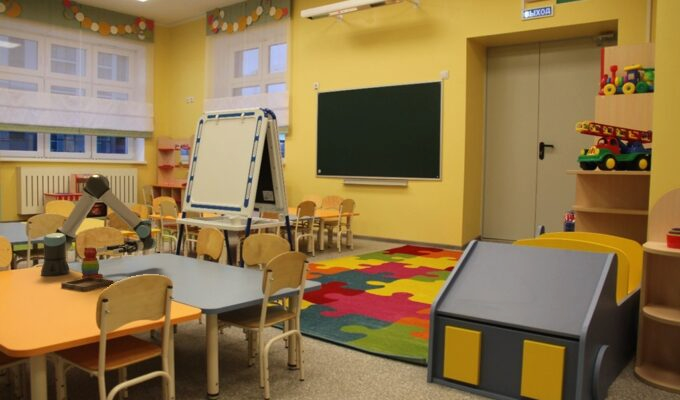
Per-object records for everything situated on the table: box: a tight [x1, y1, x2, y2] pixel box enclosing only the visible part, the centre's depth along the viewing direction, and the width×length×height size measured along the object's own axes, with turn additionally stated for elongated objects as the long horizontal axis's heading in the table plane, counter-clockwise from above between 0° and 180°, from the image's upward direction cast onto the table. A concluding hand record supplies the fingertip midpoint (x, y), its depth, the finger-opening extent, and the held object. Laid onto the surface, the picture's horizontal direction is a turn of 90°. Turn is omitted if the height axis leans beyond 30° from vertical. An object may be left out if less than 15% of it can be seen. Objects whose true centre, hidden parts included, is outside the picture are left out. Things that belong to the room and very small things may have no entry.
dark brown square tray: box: [60, 277, 114, 292], centre depth 296 cm, size 18×18×2 cm
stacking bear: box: [80, 247, 104, 279], centre depth 316 cm, size 11×10×18 cm
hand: (105, 251), depth 325 cm, fingers open, 13 cm apart
